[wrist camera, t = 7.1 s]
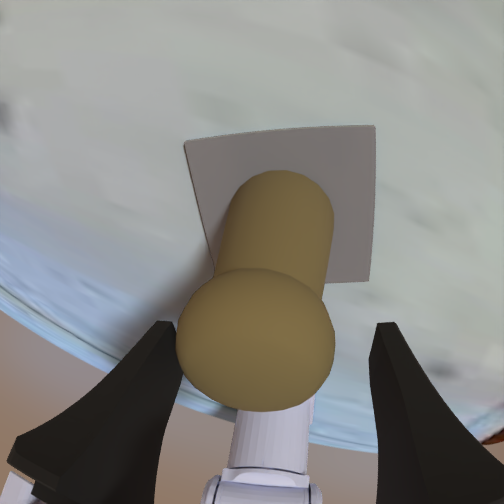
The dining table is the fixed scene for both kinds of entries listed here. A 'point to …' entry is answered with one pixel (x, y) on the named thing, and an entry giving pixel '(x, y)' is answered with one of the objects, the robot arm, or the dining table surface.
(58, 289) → the dining table surface
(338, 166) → the slate coaster
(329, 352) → the cork
